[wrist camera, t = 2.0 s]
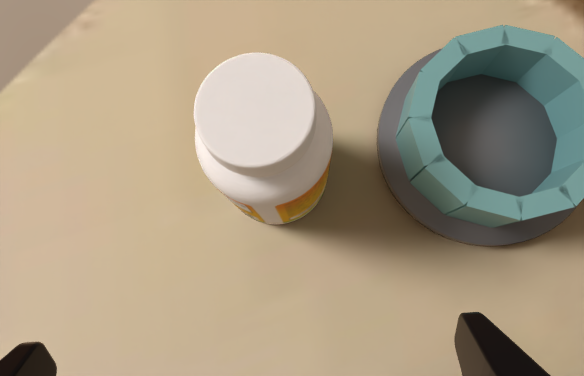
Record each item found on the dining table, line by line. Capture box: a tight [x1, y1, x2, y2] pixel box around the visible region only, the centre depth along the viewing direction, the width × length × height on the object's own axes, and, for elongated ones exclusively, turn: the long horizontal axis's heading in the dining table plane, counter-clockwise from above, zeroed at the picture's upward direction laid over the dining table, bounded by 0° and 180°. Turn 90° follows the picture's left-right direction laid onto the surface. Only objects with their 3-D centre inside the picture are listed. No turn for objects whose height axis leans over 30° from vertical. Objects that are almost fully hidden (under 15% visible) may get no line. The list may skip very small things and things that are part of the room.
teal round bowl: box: [377, 25, 584, 246], centre depth 21 cm, size 11×11×4 cm
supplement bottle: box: [194, 53, 333, 224], centre depth 18 cm, size 5×5×10 cm
